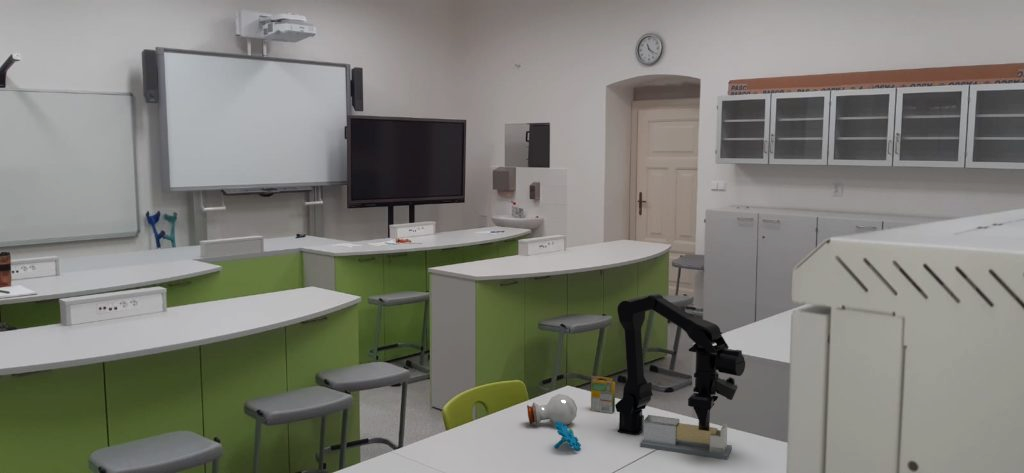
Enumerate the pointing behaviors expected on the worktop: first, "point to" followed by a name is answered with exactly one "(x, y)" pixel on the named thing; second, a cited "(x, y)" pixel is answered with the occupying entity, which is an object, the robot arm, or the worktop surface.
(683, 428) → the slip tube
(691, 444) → the board
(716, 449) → the socket
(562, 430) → the gear
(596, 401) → the crayon box
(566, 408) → the potion bottle
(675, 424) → the sleeve
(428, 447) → the worktop surface
